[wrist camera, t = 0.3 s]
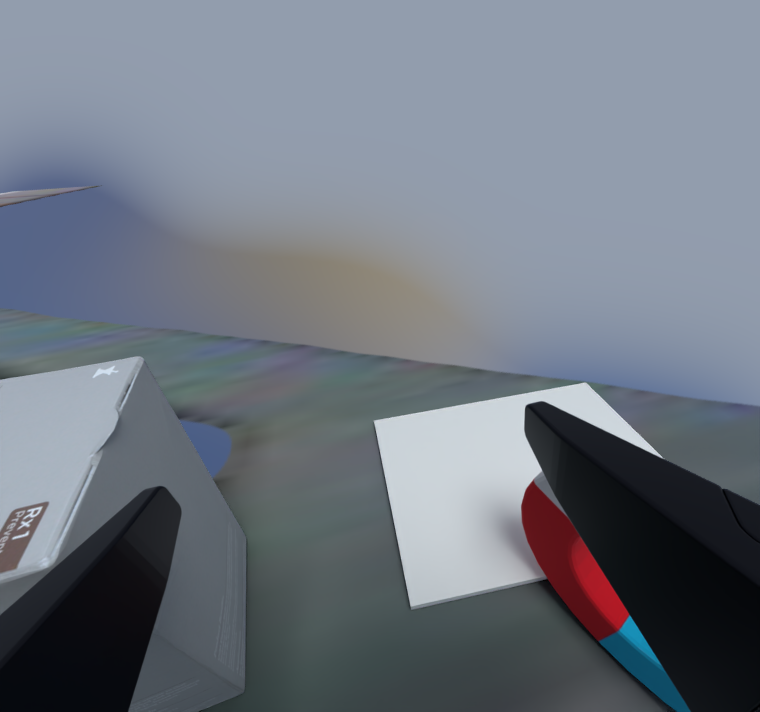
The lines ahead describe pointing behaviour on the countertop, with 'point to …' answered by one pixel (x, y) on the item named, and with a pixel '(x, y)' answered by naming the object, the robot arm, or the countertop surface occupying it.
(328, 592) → the countertop surface
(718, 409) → the countertop surface
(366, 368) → the countertop surface
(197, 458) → the skincare box
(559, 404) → the white paper sheet
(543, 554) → the magnet
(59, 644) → the robot arm
